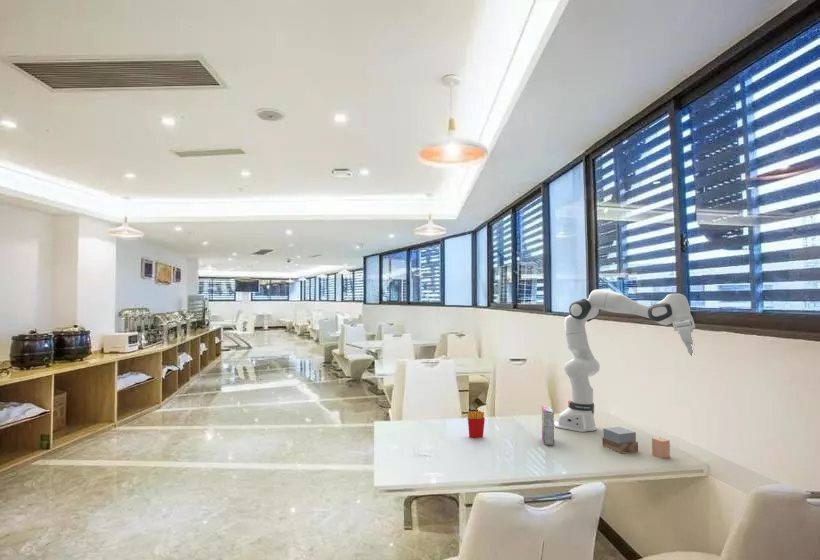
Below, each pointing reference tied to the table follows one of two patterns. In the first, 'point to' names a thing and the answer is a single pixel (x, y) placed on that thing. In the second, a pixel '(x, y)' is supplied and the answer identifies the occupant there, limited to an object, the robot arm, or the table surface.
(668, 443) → the terracotta block
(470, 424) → the french fries
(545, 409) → the candy bar box
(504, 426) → the table surface
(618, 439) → the charcoal slab
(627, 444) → the walnut slab
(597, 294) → the robot arm
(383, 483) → the table surface
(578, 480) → the table surface
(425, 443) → the table surface
